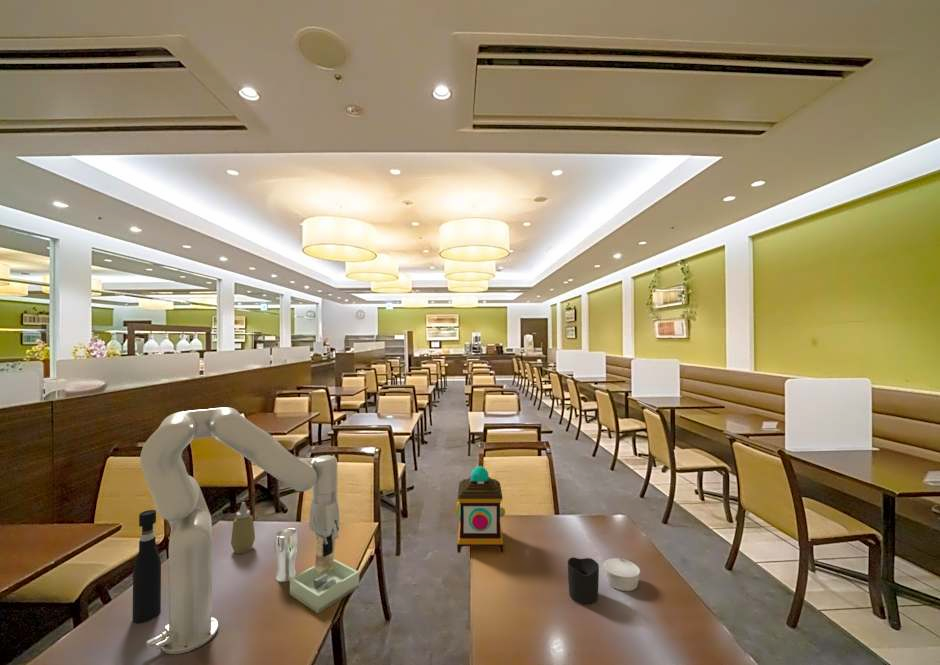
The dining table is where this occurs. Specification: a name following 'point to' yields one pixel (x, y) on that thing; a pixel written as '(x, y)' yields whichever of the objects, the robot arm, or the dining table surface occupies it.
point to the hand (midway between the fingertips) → (325, 553)
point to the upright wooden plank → (321, 561)
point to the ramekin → (621, 574)
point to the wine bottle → (147, 572)
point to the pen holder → (583, 580)
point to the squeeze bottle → (243, 531)
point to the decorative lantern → (479, 511)
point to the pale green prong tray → (317, 597)
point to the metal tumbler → (285, 553)
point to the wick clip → (323, 582)
